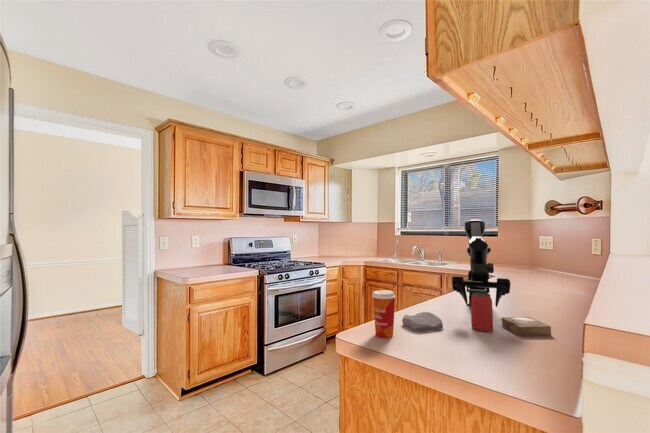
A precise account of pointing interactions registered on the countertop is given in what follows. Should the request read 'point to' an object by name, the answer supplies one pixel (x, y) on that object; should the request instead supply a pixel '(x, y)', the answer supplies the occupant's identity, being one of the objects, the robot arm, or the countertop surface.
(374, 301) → the paper cup
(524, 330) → the walnut pedestal
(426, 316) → the stone block
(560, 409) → the countertop surface
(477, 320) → the beer can
